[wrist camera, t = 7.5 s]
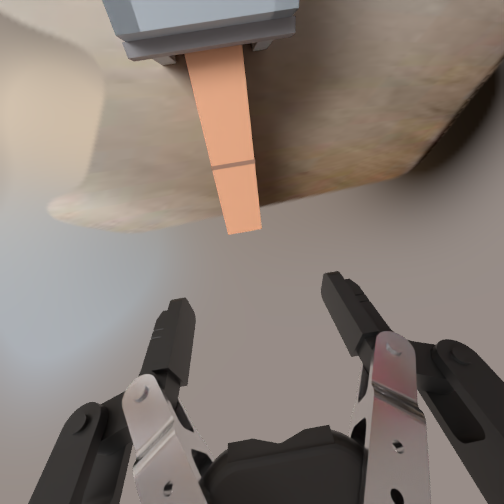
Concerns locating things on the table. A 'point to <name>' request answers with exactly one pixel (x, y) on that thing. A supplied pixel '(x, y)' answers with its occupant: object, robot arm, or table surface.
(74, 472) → the robot arm
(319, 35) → the table surface
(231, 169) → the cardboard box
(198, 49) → the block
